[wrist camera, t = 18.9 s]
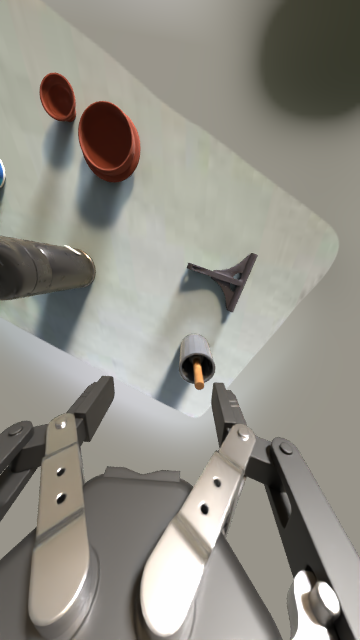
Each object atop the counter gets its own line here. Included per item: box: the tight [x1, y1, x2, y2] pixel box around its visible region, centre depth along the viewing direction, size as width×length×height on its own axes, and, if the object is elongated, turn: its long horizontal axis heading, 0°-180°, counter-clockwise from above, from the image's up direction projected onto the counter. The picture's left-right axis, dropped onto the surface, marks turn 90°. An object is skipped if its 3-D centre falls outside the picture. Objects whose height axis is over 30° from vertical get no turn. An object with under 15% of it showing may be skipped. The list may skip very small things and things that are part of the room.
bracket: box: [187, 253, 258, 312], centre depth 40 cm, size 14×15×3 cm
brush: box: [189, 355, 204, 390], centre depth 39 cm, size 4×4×16 cm
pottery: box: [40, 73, 140, 182], centre depth 32 cm, size 12×20×4 cm, turn 52°
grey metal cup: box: [179, 334, 215, 384], centre depth 42 cm, size 8×8×11 cm
